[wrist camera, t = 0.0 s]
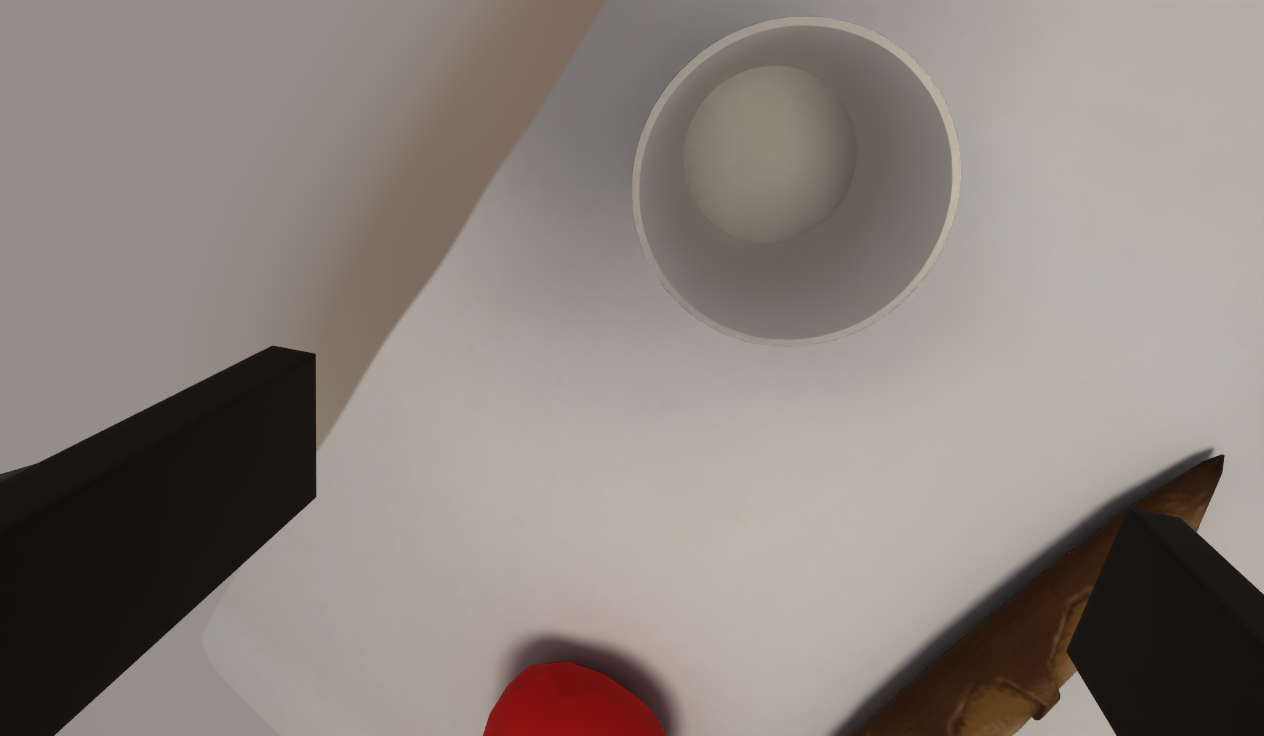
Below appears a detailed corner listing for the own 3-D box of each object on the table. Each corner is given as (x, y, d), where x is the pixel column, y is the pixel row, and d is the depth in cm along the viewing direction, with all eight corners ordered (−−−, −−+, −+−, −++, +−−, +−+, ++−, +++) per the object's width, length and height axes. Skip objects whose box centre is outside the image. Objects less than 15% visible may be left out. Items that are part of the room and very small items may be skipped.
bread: (761, 886, 48) (764, 969, 44) (699, 847, 48) (695, 926, 43) (1253, 476, 35) (1331, 532, 31) (1173, 418, 35) (1240, 465, 30)
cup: (768, 282, 35) (789, 407, 21) (641, 163, 34) (566, 204, 20) (901, 149, 33) (1037, 181, 18) (767, 16, 32) (792, -68, 17)
